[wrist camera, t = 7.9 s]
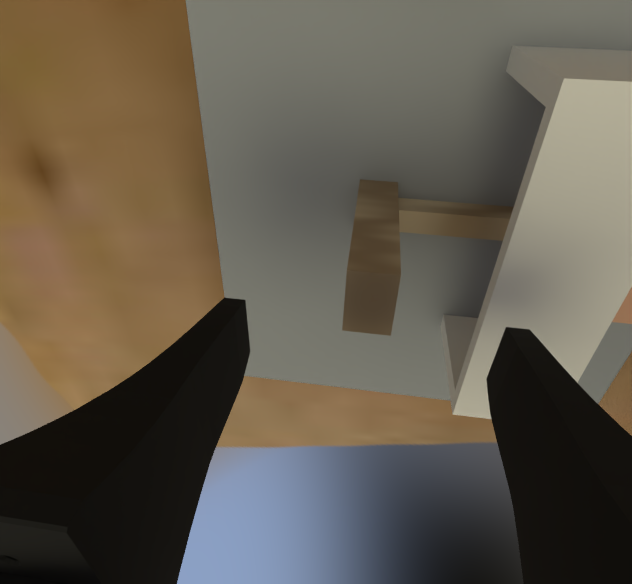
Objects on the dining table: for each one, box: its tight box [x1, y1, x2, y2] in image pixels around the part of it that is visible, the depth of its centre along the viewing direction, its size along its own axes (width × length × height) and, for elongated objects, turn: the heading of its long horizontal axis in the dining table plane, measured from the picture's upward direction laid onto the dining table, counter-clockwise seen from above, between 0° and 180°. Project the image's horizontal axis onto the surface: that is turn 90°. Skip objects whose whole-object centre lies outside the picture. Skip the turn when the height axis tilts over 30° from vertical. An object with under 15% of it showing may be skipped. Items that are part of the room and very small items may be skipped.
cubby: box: [186, 0, 632, 419], centre depth 17 cm, size 21×25×6 cm
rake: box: [342, 179, 514, 336], centre depth 16 cm, size 10×6×7 cm, turn 89°
